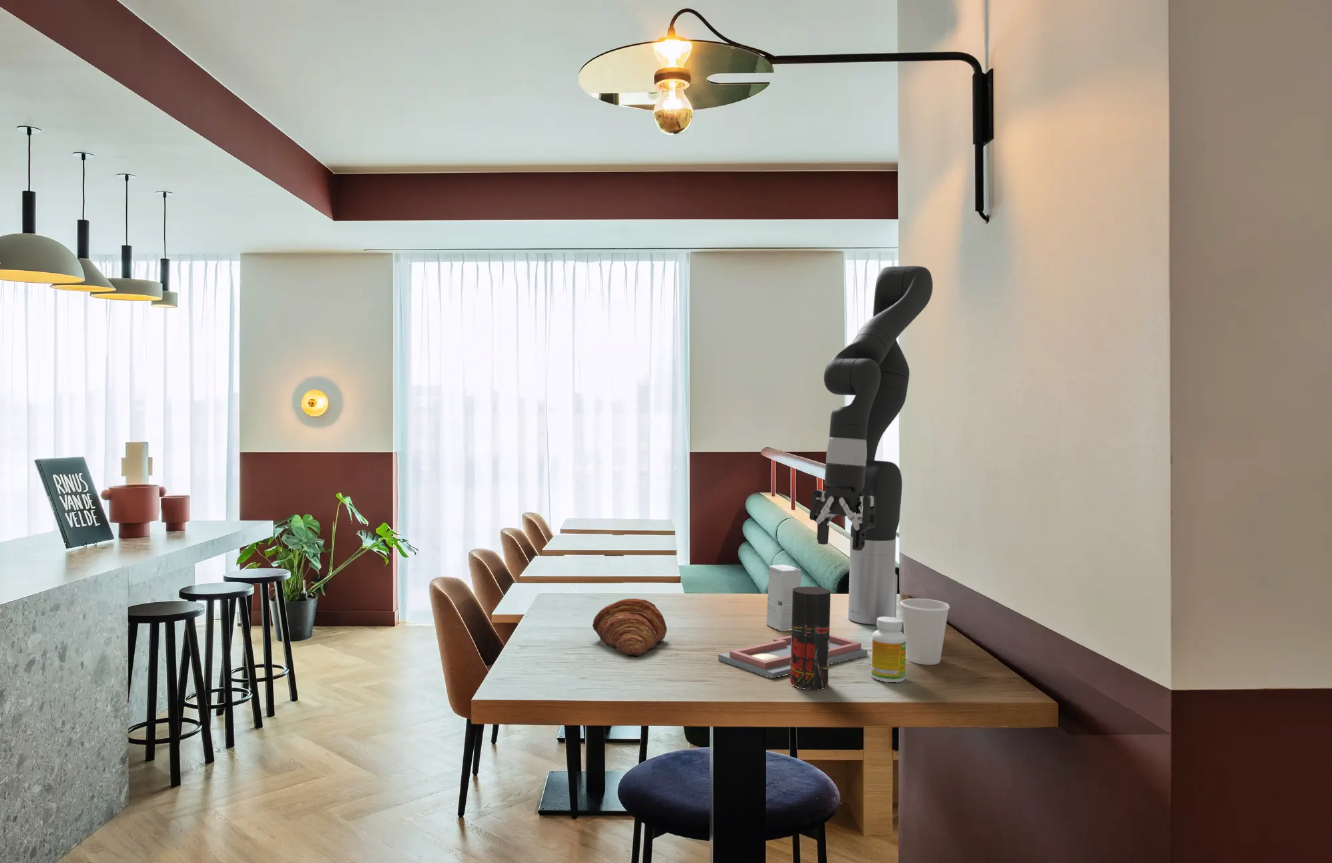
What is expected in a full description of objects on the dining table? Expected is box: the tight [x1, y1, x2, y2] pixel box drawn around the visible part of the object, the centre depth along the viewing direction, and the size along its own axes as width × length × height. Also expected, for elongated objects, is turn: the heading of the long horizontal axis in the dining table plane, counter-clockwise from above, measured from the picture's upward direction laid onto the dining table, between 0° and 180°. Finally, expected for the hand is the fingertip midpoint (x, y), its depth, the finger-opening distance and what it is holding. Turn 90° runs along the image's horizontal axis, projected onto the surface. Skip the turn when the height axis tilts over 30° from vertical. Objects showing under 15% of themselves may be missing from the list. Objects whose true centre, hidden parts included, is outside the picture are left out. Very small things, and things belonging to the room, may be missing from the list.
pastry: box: [591, 598, 668, 658], centre depth 164 cm, size 17×15×8 cm
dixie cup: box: [900, 598, 951, 666], centre depth 156 cm, size 8×8×10 cm
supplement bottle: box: [870, 617, 907, 683], centre depth 145 cm, size 5×5×10 cm
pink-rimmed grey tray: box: [717, 634, 868, 679], centre depth 155 cm, size 24×13×2 cm, turn 129°
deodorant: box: [789, 586, 831, 691], centre depth 140 cm, size 6×6×15 cm
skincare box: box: [765, 564, 802, 632], centre depth 177 cm, size 6×4×12 cm
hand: (839, 547), depth 169 cm, fingers open, 8 cm apart
